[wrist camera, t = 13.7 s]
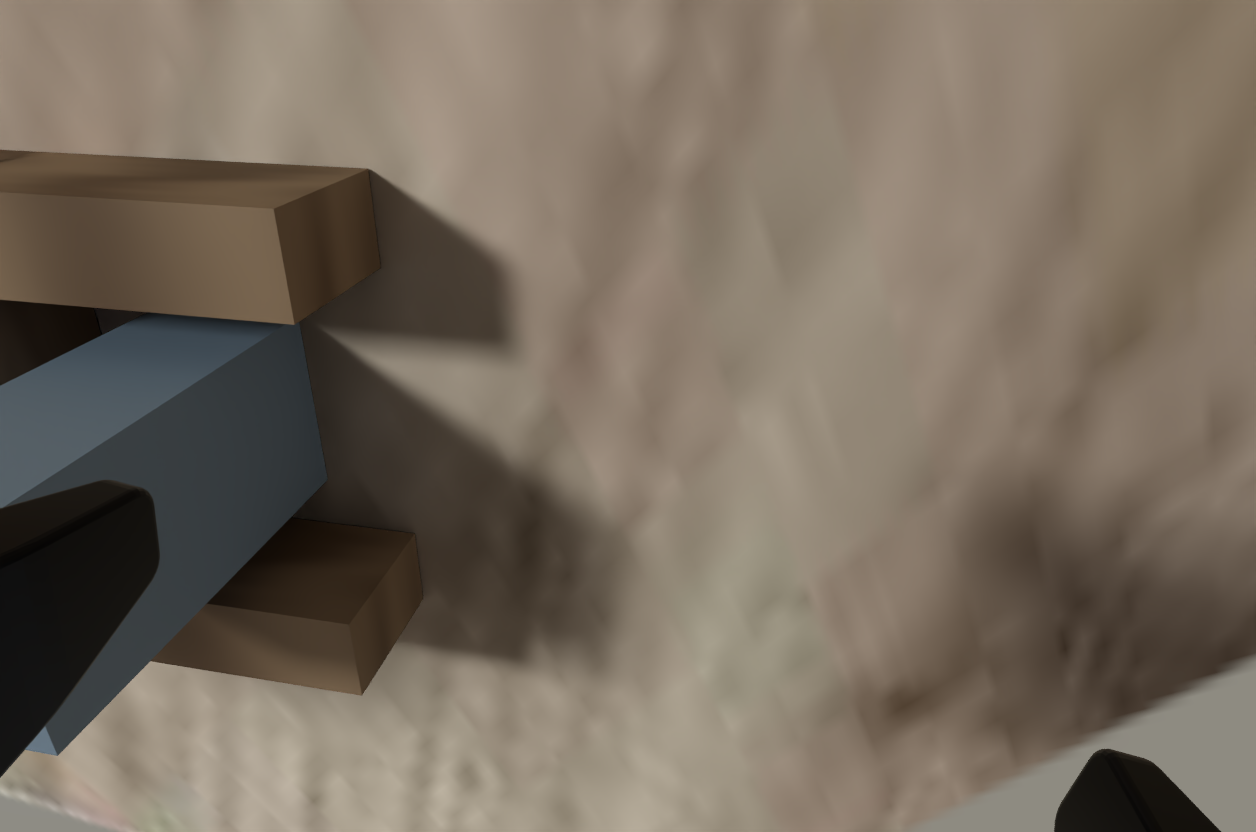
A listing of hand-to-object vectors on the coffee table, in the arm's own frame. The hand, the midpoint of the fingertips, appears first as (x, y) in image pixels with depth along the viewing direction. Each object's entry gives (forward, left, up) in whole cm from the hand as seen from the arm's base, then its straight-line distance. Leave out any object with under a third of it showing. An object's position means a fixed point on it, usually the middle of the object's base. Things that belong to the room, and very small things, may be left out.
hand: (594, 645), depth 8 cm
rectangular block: (+12, +7, -13) cm, 19 cm away
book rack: (+12, +7, -13) cm, 19 cm away
